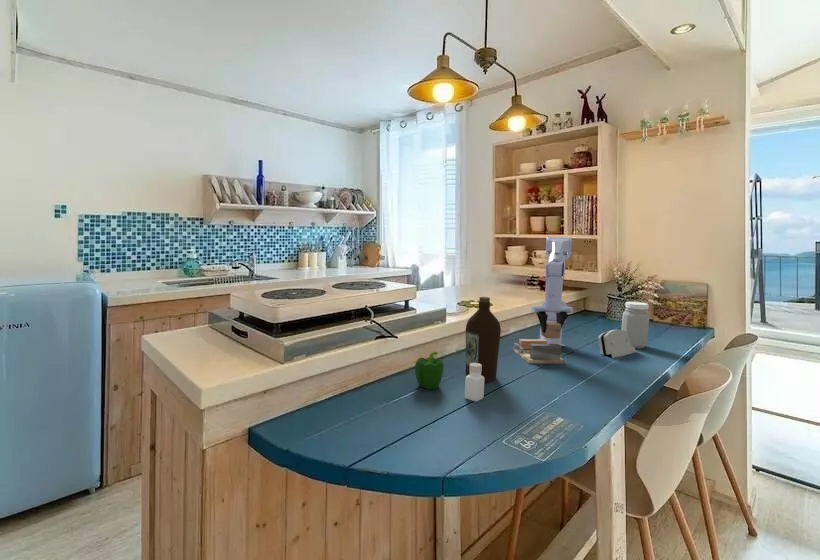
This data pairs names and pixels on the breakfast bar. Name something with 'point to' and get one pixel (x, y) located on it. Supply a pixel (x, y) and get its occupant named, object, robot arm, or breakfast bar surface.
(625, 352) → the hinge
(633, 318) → the jar
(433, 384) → the bell pepper
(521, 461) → the breakfast bar surface
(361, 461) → the breakfast bar surface
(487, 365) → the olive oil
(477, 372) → the white pill bottle
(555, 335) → the block
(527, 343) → the block
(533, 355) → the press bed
